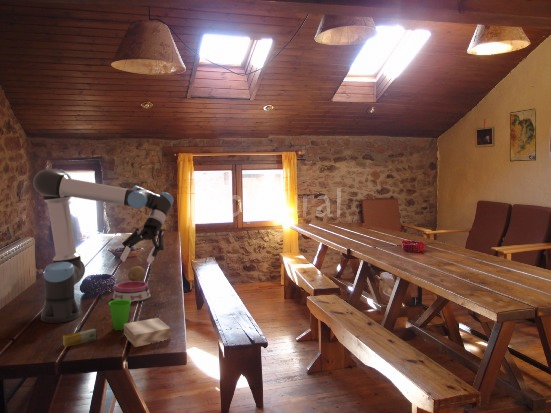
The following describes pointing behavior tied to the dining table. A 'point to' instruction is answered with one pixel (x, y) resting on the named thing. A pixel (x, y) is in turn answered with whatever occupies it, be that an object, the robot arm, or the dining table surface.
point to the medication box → (80, 337)
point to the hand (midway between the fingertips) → (135, 261)
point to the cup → (119, 312)
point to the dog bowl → (132, 291)
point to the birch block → (147, 332)
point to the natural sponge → (136, 273)
